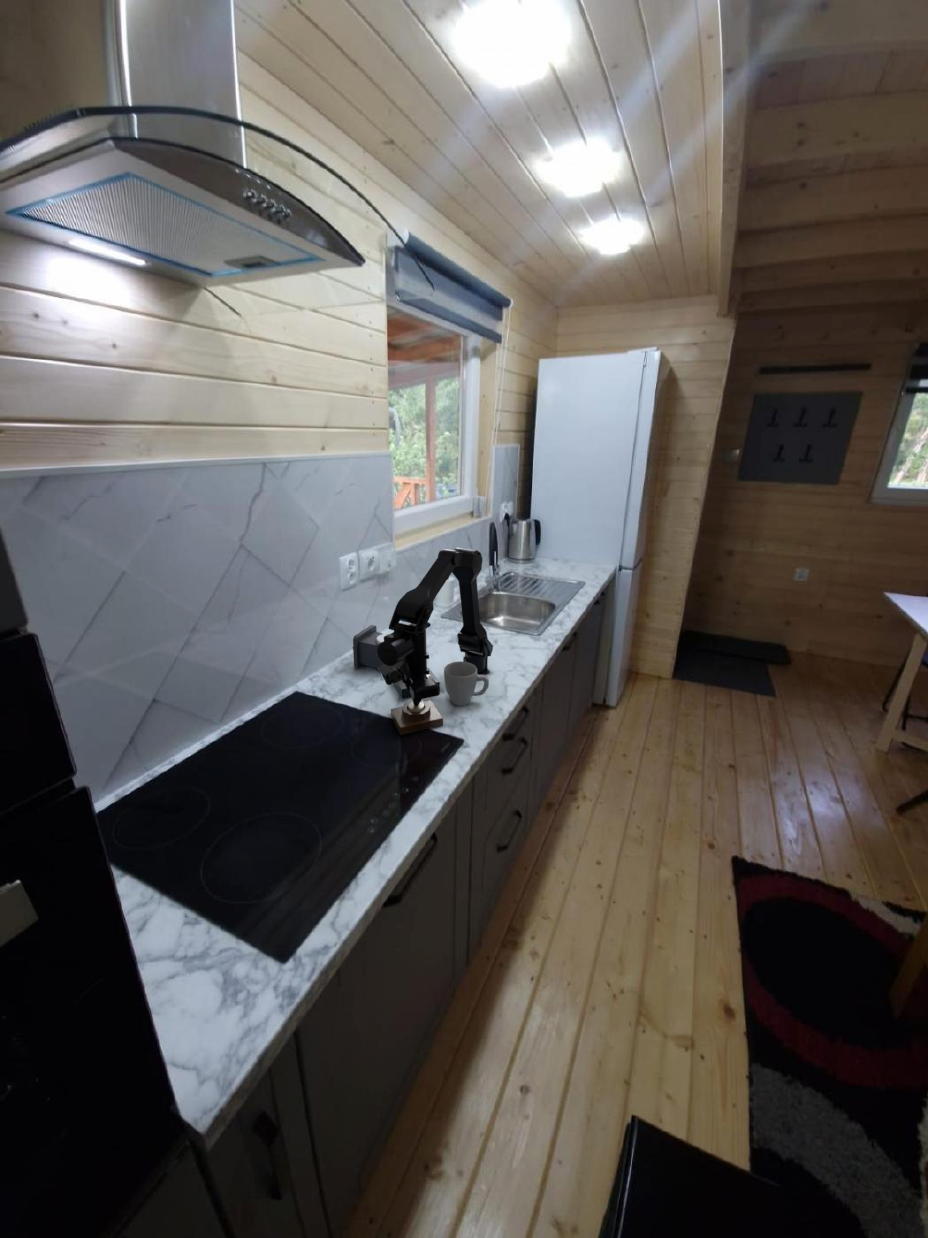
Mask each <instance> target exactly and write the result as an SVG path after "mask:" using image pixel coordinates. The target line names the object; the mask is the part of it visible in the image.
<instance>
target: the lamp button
mask: <svg viewBox="0 0 928 1238" xmlns="http://www.w3.org/2000/svg"><path fill="white" fill-rule="evenodd" d="M408 710H409V711H411V712H421V711H423V710H424V704H423V703H422V702H420V704H419V705H418V706H414V704H413V702H411V703H409V705H408Z"/></svg>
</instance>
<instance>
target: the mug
mask: <svg viewBox="0 0 928 1238" xmlns="http://www.w3.org/2000/svg"><path fill="white" fill-rule="evenodd" d="M443 677H444V687H445V690H446V692H447V696H448V697H449V699H450V702H451V703H452V704H453V705H456V706H466V705H468V704H470V702H471V699H472V697H478V696H479V697H480V696H483V695H484V694H485V693H486V692H487V690H488V688H489V686H490V681H489V678H488V676H487V675H486V674H482V675H478V674H477V668H476V666H475V665H473V664H471V663H468V662H463V661H452V662H450V663H448V664H446V665H445V666H444V669H443ZM477 682H483V686H482V689H480V690H478V691H475V690H476V687H477Z"/></svg>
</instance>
